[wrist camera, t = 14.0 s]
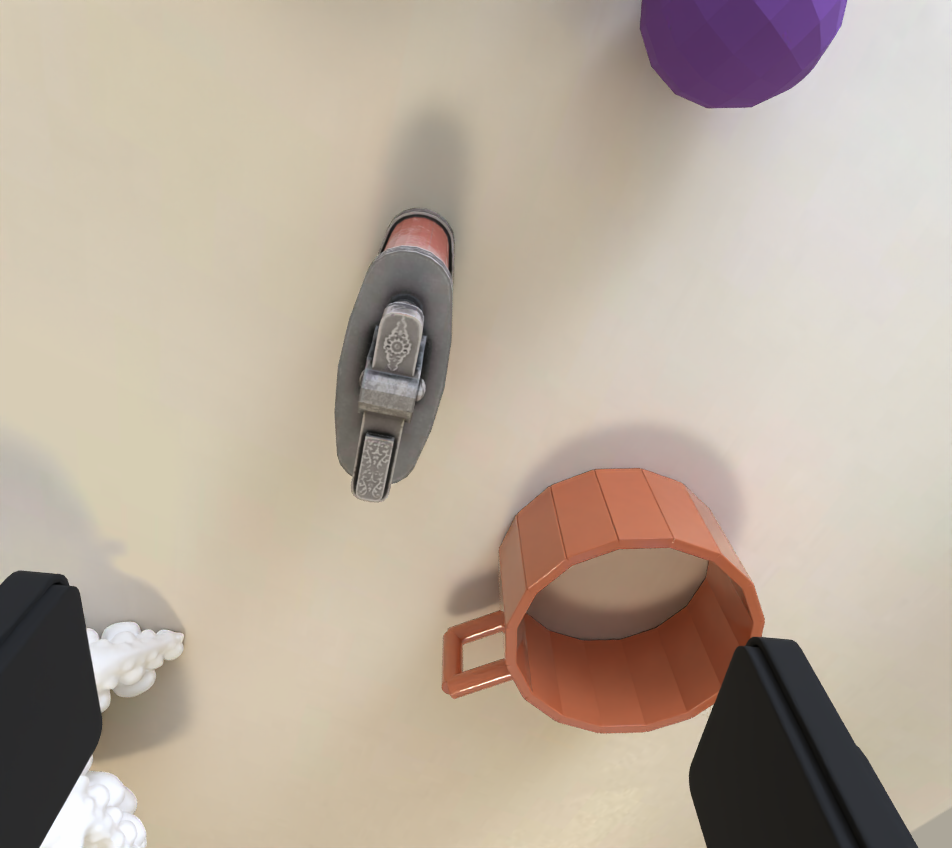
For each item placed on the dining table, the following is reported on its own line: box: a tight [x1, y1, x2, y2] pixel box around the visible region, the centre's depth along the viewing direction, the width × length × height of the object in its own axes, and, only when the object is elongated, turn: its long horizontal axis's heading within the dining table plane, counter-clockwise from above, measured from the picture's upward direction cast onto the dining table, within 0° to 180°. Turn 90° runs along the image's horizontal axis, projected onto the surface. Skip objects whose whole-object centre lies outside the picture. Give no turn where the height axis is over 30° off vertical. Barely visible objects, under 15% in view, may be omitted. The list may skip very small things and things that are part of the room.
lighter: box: [335, 208, 454, 502], centre depth 24 cm, size 8×3×10 cm, turn 167°
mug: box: [442, 468, 765, 733], centre depth 32 cm, size 14×11×6 cm
